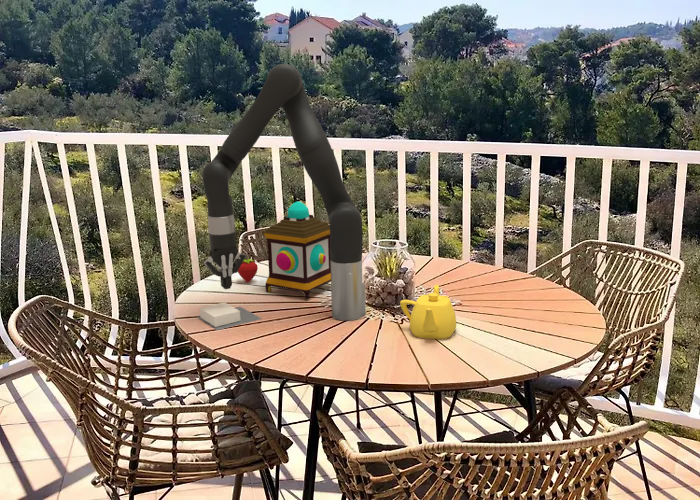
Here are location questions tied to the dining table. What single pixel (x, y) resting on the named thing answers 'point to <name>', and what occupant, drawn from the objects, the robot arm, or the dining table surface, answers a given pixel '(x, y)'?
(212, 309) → the block
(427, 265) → the dining table surface
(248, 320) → the mat
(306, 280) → the decorative lantern
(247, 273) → the strawberry
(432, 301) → the teapot
